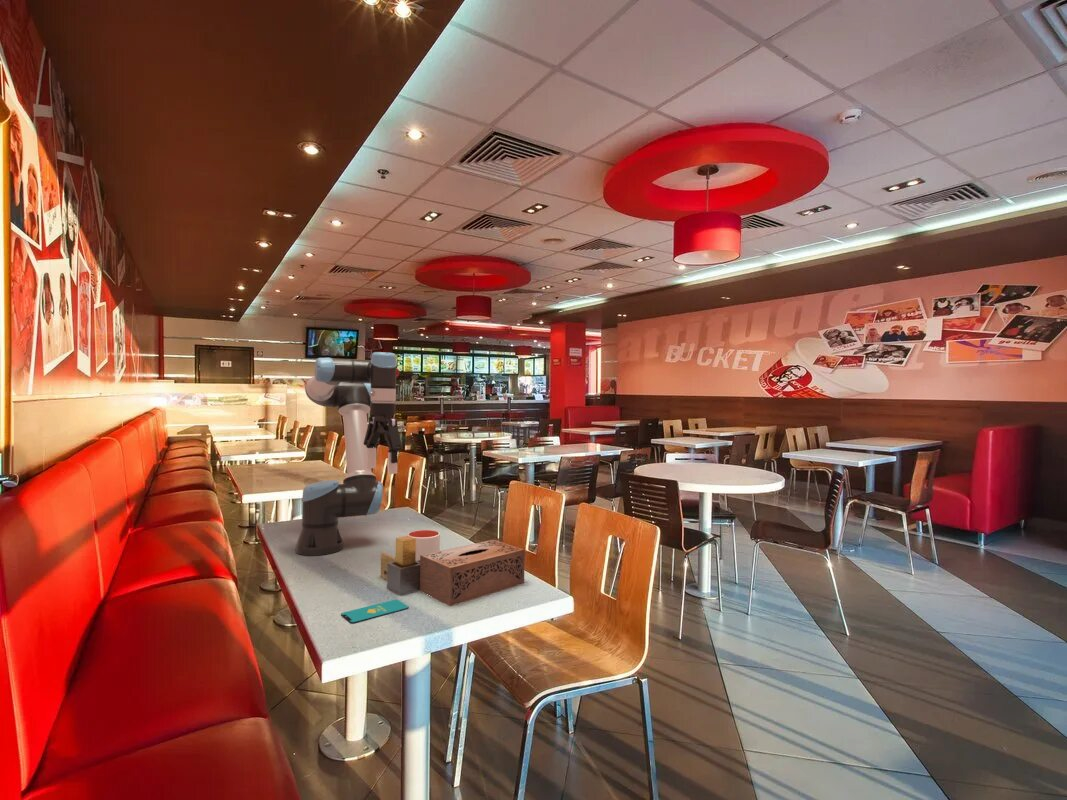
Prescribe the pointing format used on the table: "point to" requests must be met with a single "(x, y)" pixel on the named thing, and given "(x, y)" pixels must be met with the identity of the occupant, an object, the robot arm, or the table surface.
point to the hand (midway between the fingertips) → (381, 471)
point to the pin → (405, 551)
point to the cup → (426, 542)
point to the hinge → (400, 575)
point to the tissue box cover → (471, 571)
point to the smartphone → (373, 611)
